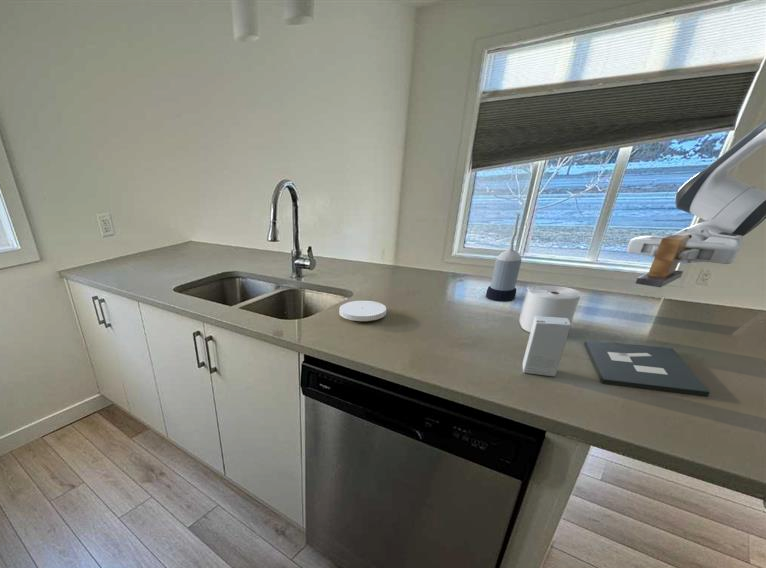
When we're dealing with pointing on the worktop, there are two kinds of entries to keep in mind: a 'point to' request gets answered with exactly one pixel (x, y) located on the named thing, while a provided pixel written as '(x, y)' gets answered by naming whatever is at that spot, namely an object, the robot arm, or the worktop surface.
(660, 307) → the worktop surface
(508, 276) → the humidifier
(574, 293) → the toilet tissue
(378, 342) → the worktop surface
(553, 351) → the cosmetic box
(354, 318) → the plastic lid
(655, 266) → the eraser
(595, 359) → the slate board
